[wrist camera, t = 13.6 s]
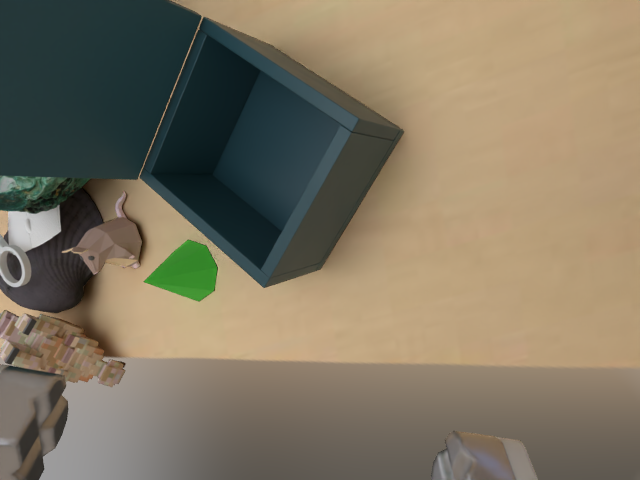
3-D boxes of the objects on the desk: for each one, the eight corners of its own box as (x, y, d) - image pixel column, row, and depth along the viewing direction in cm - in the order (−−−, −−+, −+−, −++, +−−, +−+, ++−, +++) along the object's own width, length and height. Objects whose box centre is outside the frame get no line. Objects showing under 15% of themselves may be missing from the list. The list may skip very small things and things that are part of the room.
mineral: (163, 160, 49) (107, 116, 39) (42, 260, 49) (-44, 240, 39) (72, 43, 54) (1, -22, 44) (-39, 134, 53) (-135, 88, 44)
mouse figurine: (142, 189, 48) (80, 191, 42) (148, 269, 49) (88, 281, 43) (107, 191, 51) (44, 193, 45) (113, 267, 52) (53, 278, 46)
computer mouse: (-10, 258, 50) (-34, 243, 48) (40, 171, 56) (20, 155, 54) (53, 248, 47) (30, 232, 45) (97, 158, 53) (79, 140, 51)
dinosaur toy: (10, 377, 44) (116, 406, 51) (43, 321, 45) (142, 357, 52) (-23, 336, 54) (69, 365, 62) (5, 292, 56) (92, 325, 63)
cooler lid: (-58, -97, 20) (-104, -133, 21) (-107, 173, 24) (-141, 125, 26) (202, 16, 32) (159, -13, 34) (137, 180, 37) (102, 147, 39)
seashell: (144, 274, 53) (84, 285, 46) (39, 339, 60) (-28, 358, 53) (93, 161, 55) (27, 155, 47) (-3, 237, 62) (-74, 242, 54)
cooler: (404, 130, 35) (359, 118, 28) (320, 269, 39) (264, 288, 33) (270, 44, 40) (203, 16, 33) (209, 177, 44) (139, 177, 37)
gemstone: (176, 303, 48) (126, 318, 43) (166, 243, 48) (114, 251, 42) (222, 299, 45) (174, 314, 40) (211, 235, 45) (161, 242, 39)
